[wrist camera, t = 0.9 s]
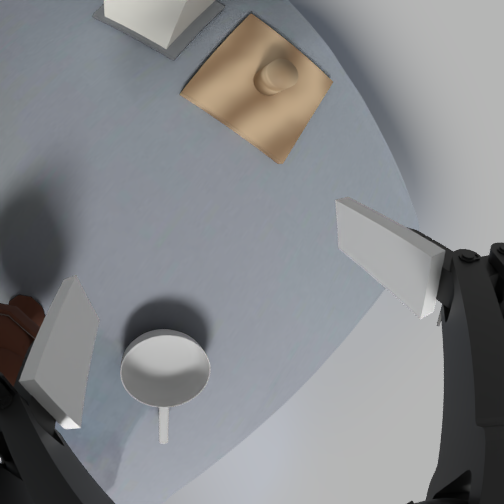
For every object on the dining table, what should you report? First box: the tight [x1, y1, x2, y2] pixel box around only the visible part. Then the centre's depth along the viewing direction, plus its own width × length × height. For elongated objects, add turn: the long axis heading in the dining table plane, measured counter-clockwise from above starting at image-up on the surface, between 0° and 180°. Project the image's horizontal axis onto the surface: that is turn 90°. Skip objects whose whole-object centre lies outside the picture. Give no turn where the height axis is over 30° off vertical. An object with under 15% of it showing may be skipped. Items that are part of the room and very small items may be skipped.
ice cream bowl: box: [0, 295, 45, 387], centre depth 19 cm, size 11×11×15 cm
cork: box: [253, 59, 298, 96], centre depth 28 cm, size 3×3×4 cm
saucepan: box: [120, 329, 210, 444], centre depth 33 cm, size 11×18×4 cm, turn 168°
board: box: [180, 14, 333, 164], centre depth 30 cm, size 14×14×1 cm
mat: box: [92, 0, 225, 61], centre depth 23 cm, size 12×10×1 cm
